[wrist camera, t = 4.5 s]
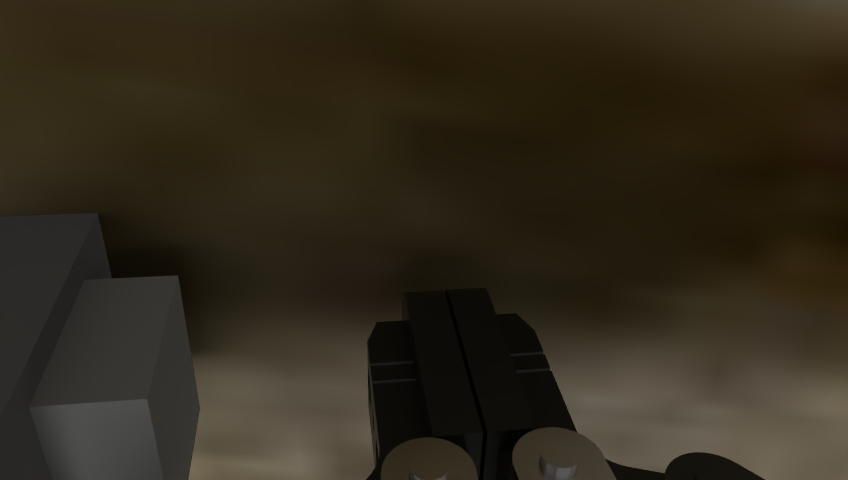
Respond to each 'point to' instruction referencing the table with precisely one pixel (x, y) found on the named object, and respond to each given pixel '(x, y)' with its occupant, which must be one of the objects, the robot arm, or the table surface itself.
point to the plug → (89, 360)
